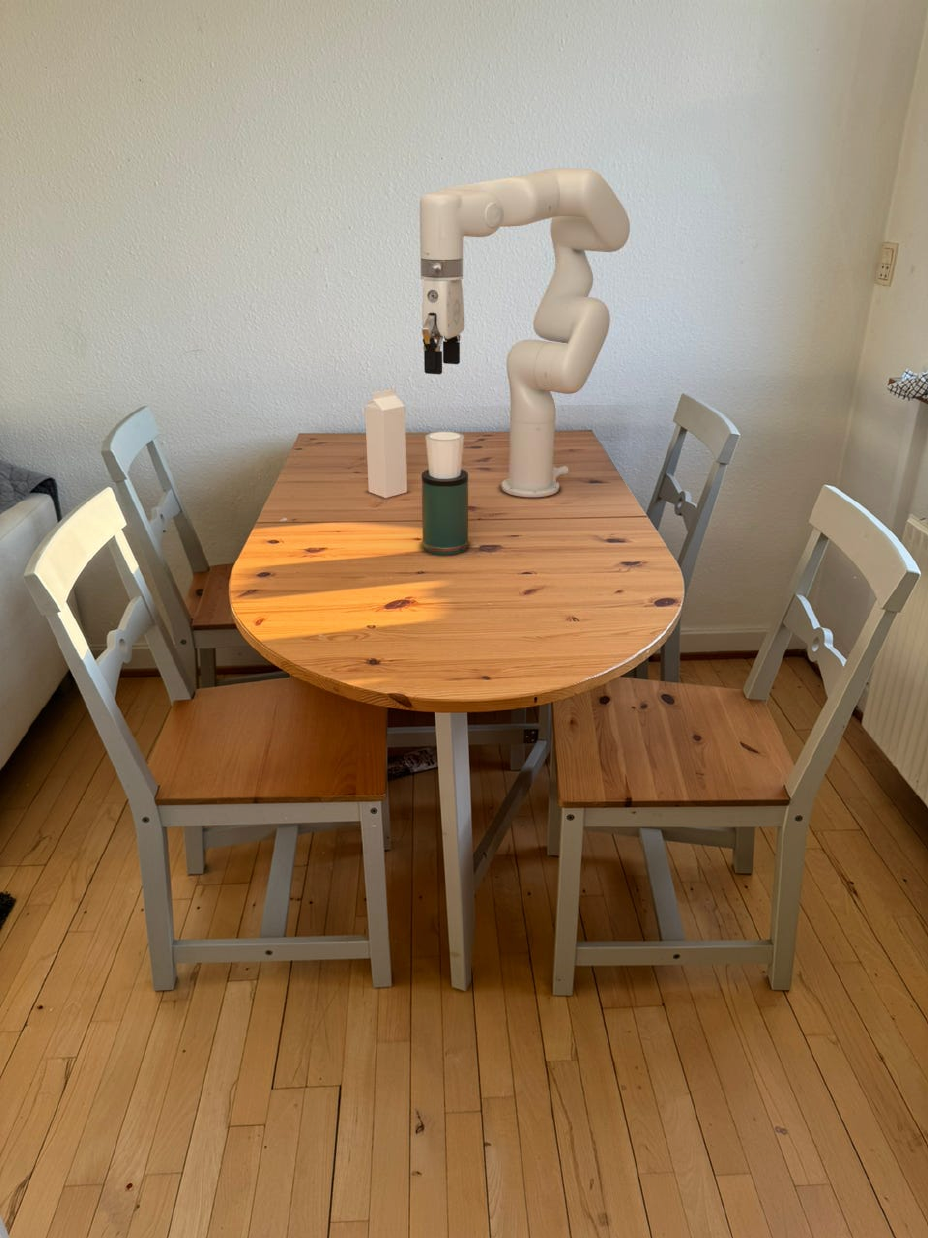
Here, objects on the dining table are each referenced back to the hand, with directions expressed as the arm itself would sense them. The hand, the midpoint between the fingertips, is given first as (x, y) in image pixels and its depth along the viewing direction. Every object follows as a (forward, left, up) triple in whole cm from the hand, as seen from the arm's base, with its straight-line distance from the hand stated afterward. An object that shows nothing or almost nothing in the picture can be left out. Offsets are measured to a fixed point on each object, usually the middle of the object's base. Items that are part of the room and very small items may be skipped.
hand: (442, 368), depth 173 cm
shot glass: (+7, +10, -16) cm, 20 cm away
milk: (-2, -23, -31) cm, 38 cm away
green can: (+7, +10, -30) cm, 33 cm away
